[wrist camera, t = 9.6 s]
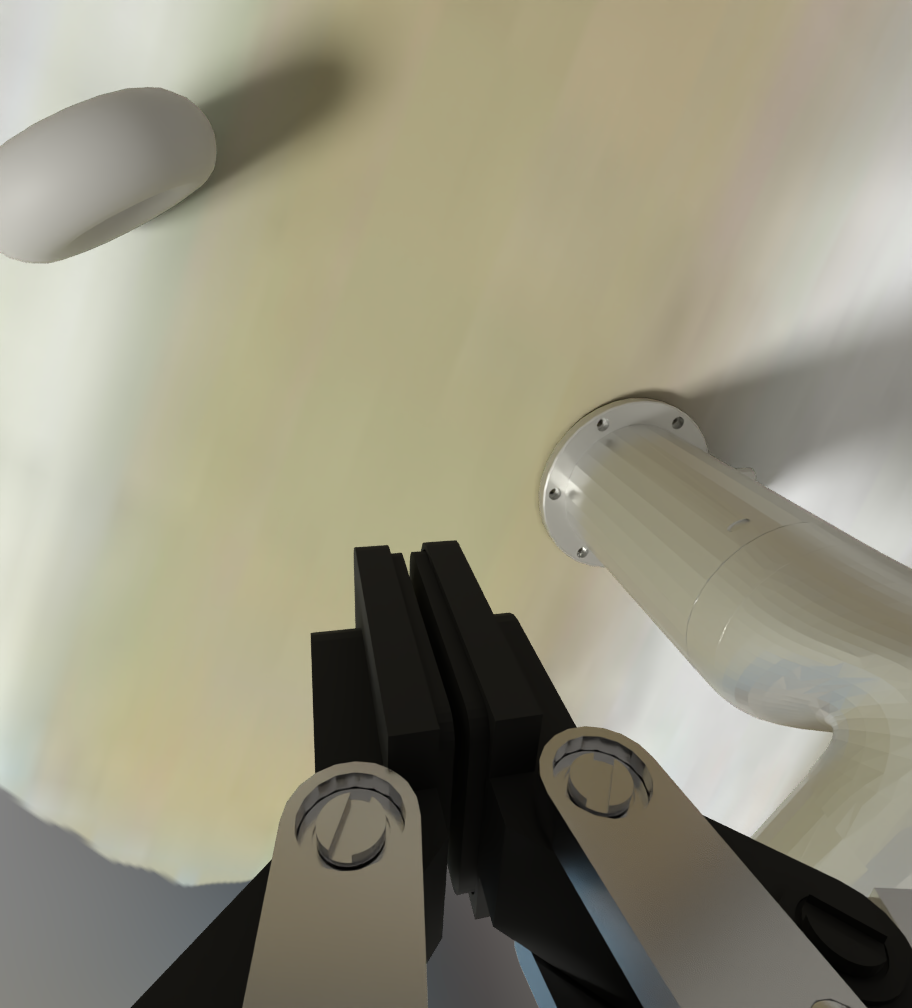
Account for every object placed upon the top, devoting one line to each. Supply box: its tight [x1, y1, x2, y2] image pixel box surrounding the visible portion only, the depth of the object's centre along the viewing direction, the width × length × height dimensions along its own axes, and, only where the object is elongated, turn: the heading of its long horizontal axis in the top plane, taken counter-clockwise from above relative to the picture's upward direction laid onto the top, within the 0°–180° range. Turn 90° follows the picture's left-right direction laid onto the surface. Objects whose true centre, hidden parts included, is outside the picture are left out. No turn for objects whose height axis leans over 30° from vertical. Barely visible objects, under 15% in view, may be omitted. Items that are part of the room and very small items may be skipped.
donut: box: [0, 87, 217, 263], centre depth 24 cm, size 10×4×10 cm, turn 116°
